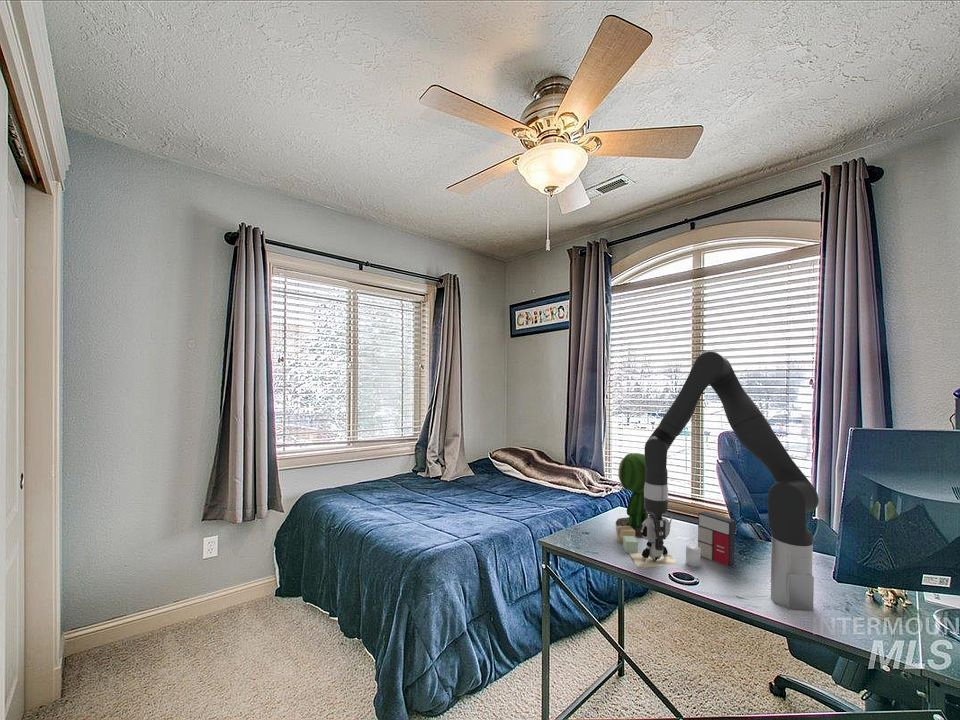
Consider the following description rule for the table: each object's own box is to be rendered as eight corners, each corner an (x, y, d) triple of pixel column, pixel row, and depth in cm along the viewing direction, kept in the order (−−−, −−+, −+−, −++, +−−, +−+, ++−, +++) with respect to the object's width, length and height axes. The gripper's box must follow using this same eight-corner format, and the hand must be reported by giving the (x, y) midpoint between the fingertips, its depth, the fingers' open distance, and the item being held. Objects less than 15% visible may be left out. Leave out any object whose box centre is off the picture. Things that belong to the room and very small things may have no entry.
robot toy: (662, 553, 154) (663, 511, 154) (672, 559, 150) (674, 515, 150) (634, 559, 150) (636, 515, 149) (643, 565, 145) (645, 520, 145)
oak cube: (635, 544, 163) (635, 531, 163) (621, 544, 163) (622, 531, 163) (629, 539, 168) (630, 525, 168) (616, 539, 168) (617, 526, 168)
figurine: (625, 516, 192) (626, 447, 191) (672, 529, 178) (673, 454, 178) (606, 527, 179) (606, 453, 179) (654, 541, 165) (655, 461, 165)
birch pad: (683, 572, 142) (683, 571, 142) (637, 569, 143) (637, 568, 143) (671, 556, 154) (671, 554, 154) (629, 553, 155) (629, 552, 155)
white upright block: (702, 569, 144) (702, 551, 144) (688, 568, 145) (688, 550, 145) (697, 563, 149) (697, 545, 149) (683, 562, 149) (684, 544, 149)
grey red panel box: (696, 556, 154) (696, 512, 154) (703, 553, 156) (703, 510, 156) (728, 568, 145) (729, 522, 145) (735, 565, 147) (736, 520, 147)
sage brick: (637, 553, 156) (637, 541, 156) (626, 552, 156) (626, 541, 156) (634, 547, 161) (634, 536, 161) (622, 546, 161) (623, 535, 161)
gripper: (674, 503, 141) (673, 554, 141) (661, 490, 155) (660, 536, 155) (650, 502, 142) (649, 553, 142) (639, 489, 156) (638, 535, 156)
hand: (655, 544), depth 148 cm, fingers open, 8 cm apart
